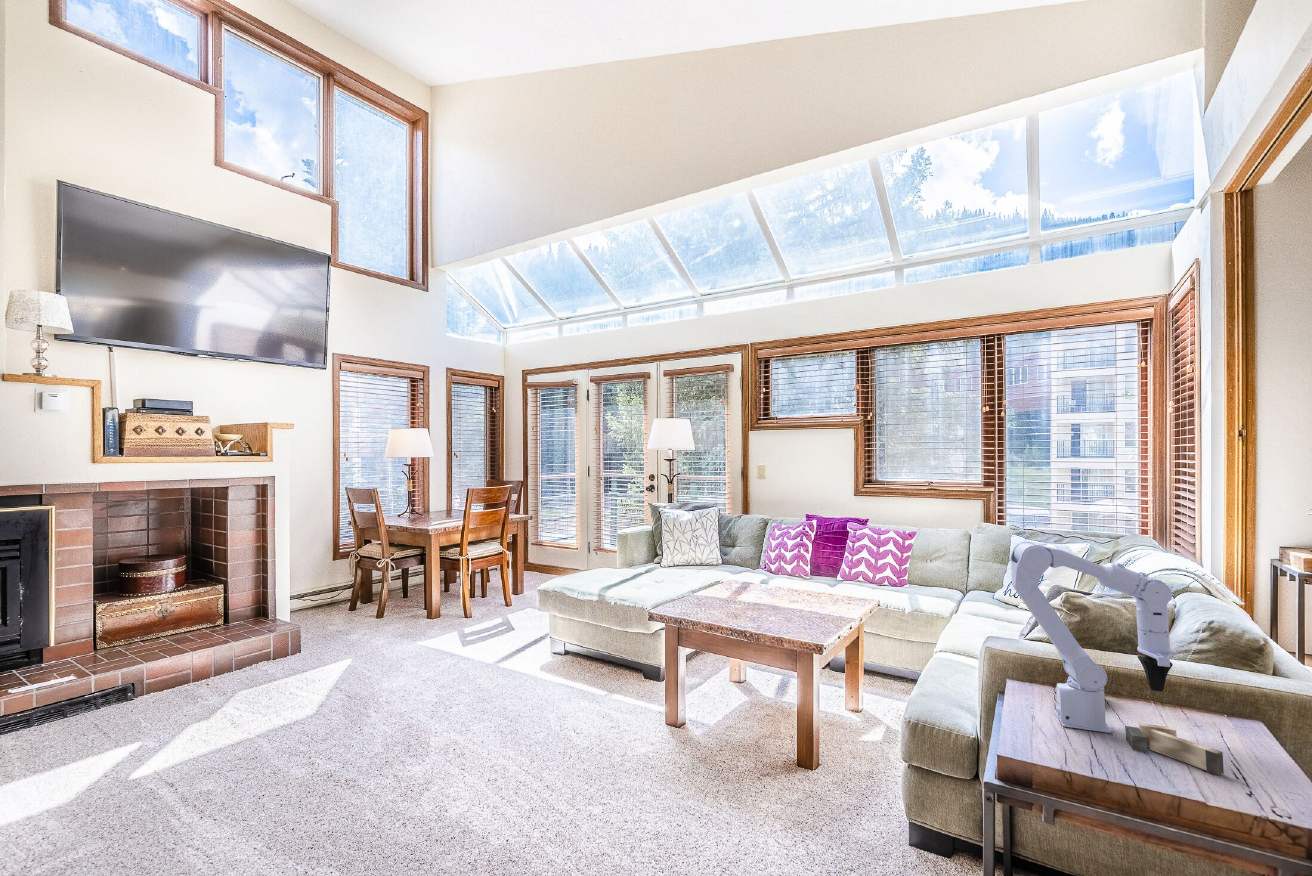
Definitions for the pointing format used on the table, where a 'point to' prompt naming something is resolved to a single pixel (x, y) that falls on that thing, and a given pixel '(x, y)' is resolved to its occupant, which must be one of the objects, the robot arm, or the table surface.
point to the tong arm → (1187, 751)
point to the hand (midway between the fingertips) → (1156, 690)
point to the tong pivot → (1144, 735)
